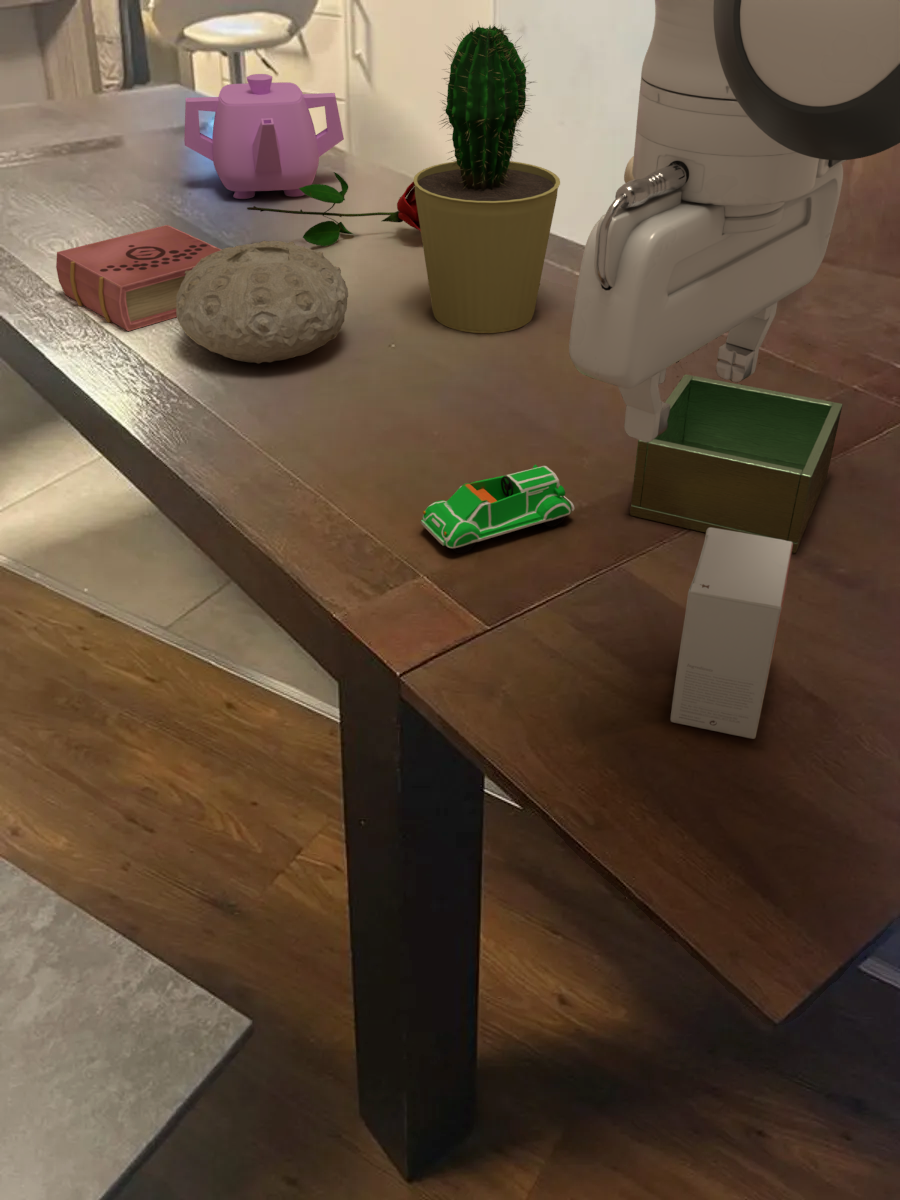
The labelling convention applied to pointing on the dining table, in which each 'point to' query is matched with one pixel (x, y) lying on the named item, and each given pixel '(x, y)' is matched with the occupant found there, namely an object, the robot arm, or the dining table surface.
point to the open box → (736, 460)
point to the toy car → (497, 508)
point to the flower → (331, 231)
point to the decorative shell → (262, 301)
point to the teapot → (263, 135)
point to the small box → (730, 631)
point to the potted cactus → (485, 196)
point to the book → (131, 274)
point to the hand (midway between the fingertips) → (691, 404)
